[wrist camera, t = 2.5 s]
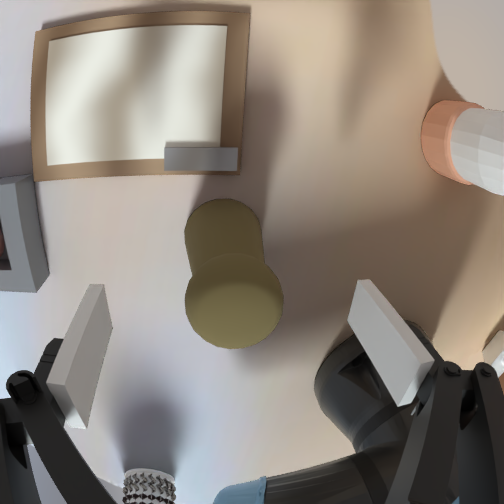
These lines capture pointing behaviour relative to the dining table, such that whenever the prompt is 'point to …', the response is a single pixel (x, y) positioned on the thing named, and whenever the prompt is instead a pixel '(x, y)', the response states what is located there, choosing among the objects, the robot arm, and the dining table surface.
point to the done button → (1, 243)
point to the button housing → (21, 237)
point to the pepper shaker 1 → (229, 276)
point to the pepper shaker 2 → (465, 143)
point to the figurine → (495, 353)
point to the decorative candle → (148, 487)
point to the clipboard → (139, 95)
